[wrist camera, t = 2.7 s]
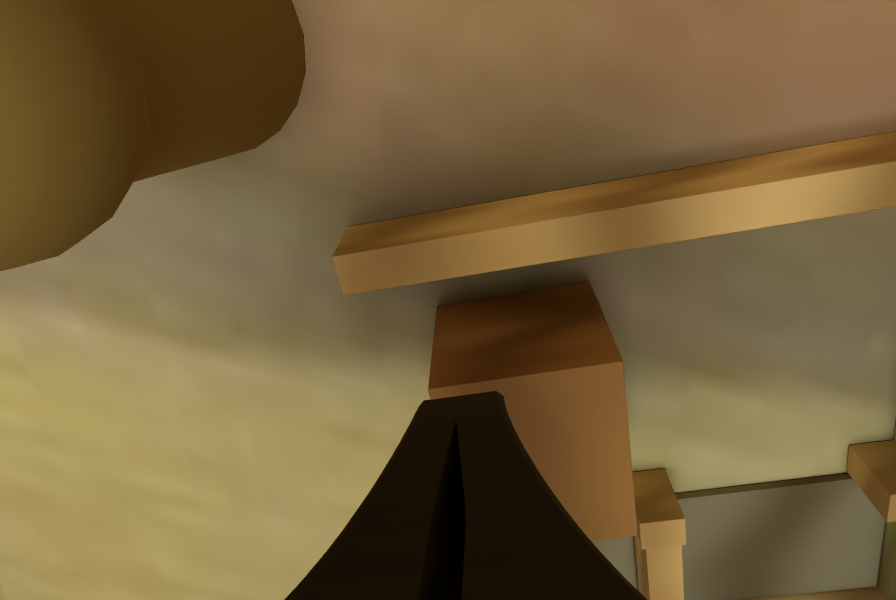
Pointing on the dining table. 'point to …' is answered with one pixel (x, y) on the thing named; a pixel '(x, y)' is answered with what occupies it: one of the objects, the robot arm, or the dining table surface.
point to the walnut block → (549, 392)
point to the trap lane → (656, 505)
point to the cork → (129, 103)
